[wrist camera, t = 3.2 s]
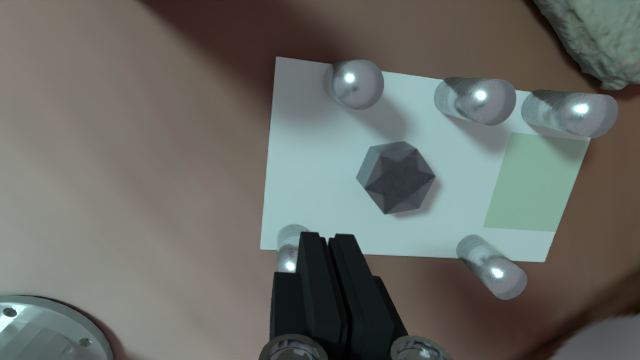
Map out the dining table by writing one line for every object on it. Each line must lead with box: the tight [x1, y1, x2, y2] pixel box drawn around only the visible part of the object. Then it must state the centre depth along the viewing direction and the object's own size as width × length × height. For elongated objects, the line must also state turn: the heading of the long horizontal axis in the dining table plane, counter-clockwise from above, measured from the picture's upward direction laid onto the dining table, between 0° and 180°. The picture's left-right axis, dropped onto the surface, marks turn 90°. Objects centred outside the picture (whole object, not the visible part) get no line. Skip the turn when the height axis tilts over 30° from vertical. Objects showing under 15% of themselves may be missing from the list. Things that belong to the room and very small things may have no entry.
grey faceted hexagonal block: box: [356, 141, 436, 215], centre depth 24 cm, size 4×5×2 cm
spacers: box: [277, 59, 618, 300], centre depth 23 cm, size 15×20×5 cm
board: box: [260, 56, 591, 262], centre depth 26 cm, size 14×25×1 cm, turn 83°
